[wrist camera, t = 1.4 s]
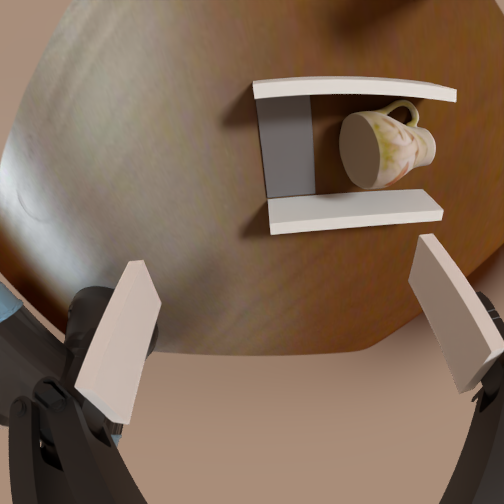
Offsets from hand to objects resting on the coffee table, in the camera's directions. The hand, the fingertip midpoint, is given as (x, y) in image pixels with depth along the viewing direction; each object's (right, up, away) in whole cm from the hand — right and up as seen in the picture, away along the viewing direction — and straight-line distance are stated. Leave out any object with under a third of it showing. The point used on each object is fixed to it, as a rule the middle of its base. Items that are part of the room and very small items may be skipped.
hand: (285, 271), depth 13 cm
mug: (+12, +13, +14) cm, 22 cm away
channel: (+8, +12, +14) cm, 20 cm away
